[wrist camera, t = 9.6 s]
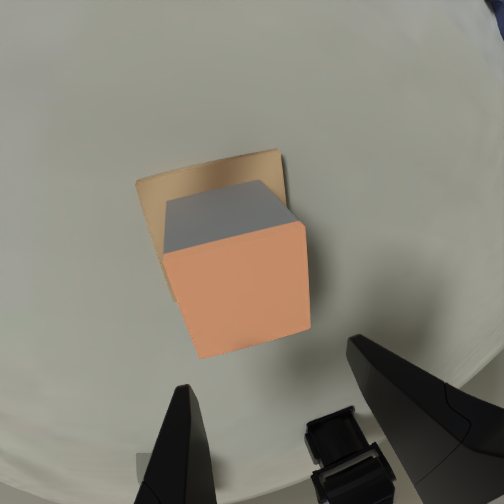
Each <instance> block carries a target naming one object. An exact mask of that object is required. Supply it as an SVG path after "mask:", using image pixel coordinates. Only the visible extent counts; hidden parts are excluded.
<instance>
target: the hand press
mask: <svg viewBox="0 0 504 504" xmlns="http://www.w3.org/2000/svg"><path fill="white" fill-rule="evenodd" d="M486 1H489V2H491V3H492V5H493V9H494V12H495V16H496V19H497V23H498V27H499V30H500V34H501V36H502V38H503V40H504V0H486Z"/></svg>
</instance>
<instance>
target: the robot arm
mask: <svg viewBox="0 0 504 504" xmlns="http://www.w3.org/2000/svg"><path fill="white" fill-rule="evenodd" d="M346 356H347V360H348V362H349V365H350V367H351V369H352V372H353V374H354V376H355V378H356V381H357V383H358V386H359V388H360V390H361V392H362V395H363V397H364V399H365V400H366V402H367V404H368V406H369V407H370V409H371V411H372V413H373V414H374V416H375V418H376V420H377V421H378V423H379V425H380V427H381V428H382V430H383V432H384V434H385V435H386V437H387V439H388V441H389V442H390V444H391V446H392V447H393V449H394V451H395V453H396V454H397V456H398V458H399V460H400V462H401V464H402V465H403V467H404V469H405V471H406V472H407V474H408V476H409V478H410V480H411V482H412V483H413V485H414V487H415V489H416V491H417V493H418V494H419V496H420V498H421V500H422V502H423V504H504V408H501V407H498V406H496V405H493V404H491V403H488V402H486V401H483V400H480V399H478V398H476V397H474V396H471V395H469V394H467V393H465V392H463V391H461V390H459V389H457V388H455V387H453V386H451V385H450V384H448V383H446V382H445V383H444V381H442V380H441V379H439V378H437V377H435V376H433V375H432V374H430V373H428V372H426V371H424V370H423V369H421V368H419V367H417V366H416V365H414V364H412V363H410V362H409V361H407V360H405V359H403V358H401V357H400V356H398V355H396V354H394V353H393V352H391V351H389V350H387V349H386V348H384V347H382V346H380V345H379V344H377V343H375V342H373V341H372V340H370V339H368V338H367V337H365V336H363V335H361V334H357V335H354V336H352V337H349V338H348V341H347V350H346ZM354 411H355V409H354V407H350V408H347V409H345V410H342V411H340V412H337V413H334V414H332V415H329V416H326V417H324V418H321V419H318V420H315V421H313V422H310V423H308V424H307V433H306V434H305V444H306V446H307V448H308V451H309V453H310V456H311V458H312V461H313V463H314V464H315V465H317V464H319V466H320V468H321V469H319V470H315V471H313V472H312V473H313V475H311V479H312V481H313V484H314V487H315V491H316V495H317V500H318V503H319V504H396V498H397V496H396V491H395V487H394V485H393V483H392V482H394V481H396V477H395V475H394V473H393V471H392V469H391V467H390V465H389V463H388V462H387V460H386V458H385V456H384V455H383V453H382V452H381V450H380V448H379V447H378V445H377V443H376V442H374V443H372V444H371V445H370V446H369V444H368V442H367V440H366V438H365V436H364V434H363V433H362V431H361V429H360V427H359V425H358V423H357V421H356V420H355V418H354V416H353V415H354ZM373 456H376V457H375V458H373ZM143 480H144V481H142V483H141V485H140V488H139V491H138V494H137V496H136V499H135V502H134V504H217V501H216V494H215V488H214V481H213V474H212V467H211V459H210V451H209V445H208V440H207V436H206V432H205V428H204V424H203V420H202V416H201V412H200V407H199V403H198V400H197V397H196V396H195V394H194V392H193V390H192V388H191V386H190V385H189V384H185V385H180V386H177V387H176V388H175V391H174V394H173V396H172V399H171V402H170V404H169V407H168V410H167V413H166V415H165V418H164V421H163V424H162V426H161V429H160V432H159V435H158V437H157V440H156V443H155V446H154V449H153V451H152V454H151V457H150V460H149V463H148V466H147V468H146V471H145V474H144V477H143Z"/></svg>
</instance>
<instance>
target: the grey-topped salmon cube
mask: <svg viewBox="0 0 504 504" xmlns="http://www.w3.org/2000/svg"><path fill="white" fill-rule="evenodd" d="M163 264H164V267H165V270H166V272H167V275H168V278H169V281H170V284H171V286H172V289H173V292H174V295H175V297H176V300H177V303H178V305H179V308H180V311H181V313H182V316H183V318H184V321H185V324H186V326H187V329H188V331H189V334H190V336H191V339H192V341H193V344H194V346H195V348H196V351H197V353H198V356H199V358H200V359H203V358H207V357H211V356H216V355H220V354H224V353H228V352H231V351H235V350H239V349H243V348H247V347H250V346H254V345H258V344H261V343H265V342H268V341H272V340H275V339H278V338H282V337H285V336H289V335H292V334H295V333H298V332H301V331H305V330H308V329H311V327H310V299H309V278H308V260H307V244H306V230H305V226H304V225H303V224H302V223H301V222H300V221H299V220H298V219H297V218H296V217H295V216H294V215H293V214H292V212H291V211H290V210H289V209H288V208H287V207H286V206H285V205H284V204H283V203H282V202H281V201H280V200H279V199H278V198H277V197H276V196H275V195H274V194H273V193H272V192H271V191H270V190H269V189H268V188H267V187H266V186H265V185H264V184H263V183H262V182H261V181H260V180H259V179H258V180H254V181H249V182H244V183H240V184H235V185H231V186H226V187H222V188H217V189H213V190H209V191H205V192H201V193H196V194H192V195H188V196H184V197H180V198H176V199H173V200H169V201H166V214H165V230H164V250H163Z"/></svg>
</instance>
